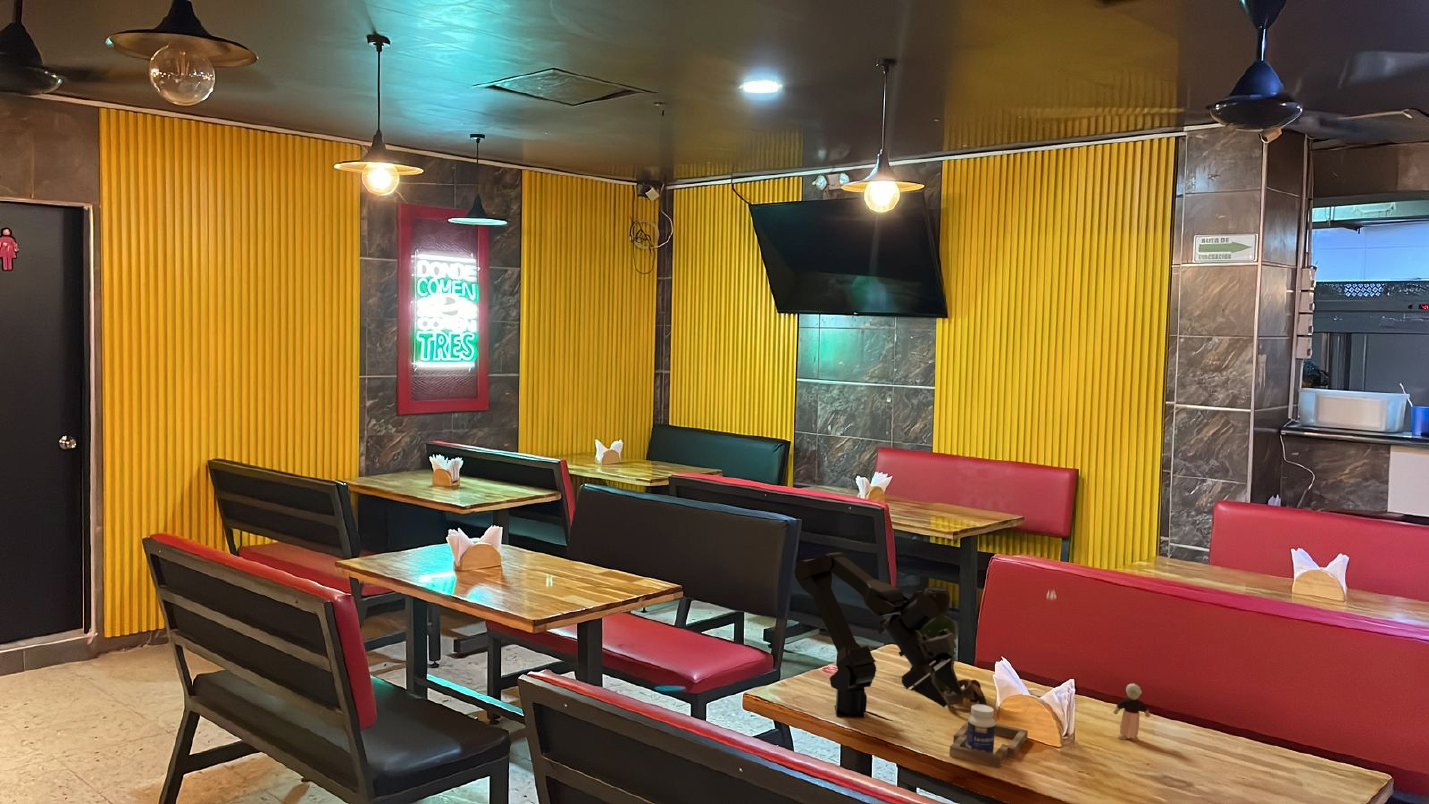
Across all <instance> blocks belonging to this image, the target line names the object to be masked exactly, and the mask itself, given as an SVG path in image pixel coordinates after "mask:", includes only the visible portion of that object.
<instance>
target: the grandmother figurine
mask: <svg viewBox="0 0 1429 804" xmlns="http://www.w3.org/2000/svg"><path fill="white" fill-rule="evenodd" d="M1125 690H1126V694H1127V697H1124V698H1123V699H1121V700H1120V701H1119V702H1118V703H1117V704H1116V707H1115V708H1114V710H1113V712H1112V713H1113V714H1114V715H1118V714H1119V712H1120V711H1121V710H1122V709H1123V712H1122V716H1121V720H1120V721H1121V722H1120V727H1119V734H1118V735H1117V739H1120V740H1127V739H1129V740H1130V741H1133V742H1139V741H1138V740H1139V737H1138V735H1139V729H1140V728H1139V727H1140V711H1141V712H1143V714H1144V716H1145V718H1150V717H1151V714H1150V711H1149V707H1148V705H1147V704H1146V703H1144V702H1143V701H1142V700H1140V699H1138V698H1139V697H1140V696H1141V695H1142V693H1143V692H1142V691H1143V690H1142V689H1141V687H1140V686H1139V685H1138V684H1136V683H1129V684H1127V686H1126V688H1125Z"/></svg>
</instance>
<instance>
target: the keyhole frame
mask: <svg viewBox="0 0 1429 804" xmlns="http://www.w3.org/2000/svg"><path fill="white" fill-rule="evenodd" d="M967 728H968V720H966V721H965V723H964V724H963V725H962V726H961V727H960V728H959V729H958V730H957V731H956V732H955V733H954V734H953V741H952V744H951V745H950V747H949V757H951V756H952V757H953V758H956V759H961V760H963V761H967V762H968V761H969V762H972V763H975V764H976V763H977V764H981V765H985V766H989V767H994V768H998V769H999V768H1000V767H1001V766H1002V765H1003V763H1004V762H1005V761H1006V759H1007V758H1009V759H1010V758H1011V759H1014V758H1015V756H1016V755H1017V754H1018V752H1019V751H1020V750H1021V748H1022V747H1023V746H1024V744H1025V743H1026V742H1027V740H1028V730H1027V729H1023V728H1018V727H1015V726H1014V727H1013V726H1008V725H1006V724H1005V725H1003V724H1000V723H996V722H995V736H1001V737H1006V738H1009V739H1012V740H1011V741H1010V742H1009V744H1004V743H1002V744H1001V745H1000V746H999V748H998V749H997V750H996V751H994V750H993V754H990V753H986V752H981V751H977V750H973V749H969V748H966V740H967ZM1003 761H1004V762H1003ZM1001 764H1002V765H1001Z"/></svg>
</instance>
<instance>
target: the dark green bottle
mask: <svg viewBox="0 0 1429 804" xmlns="http://www.w3.org/2000/svg"><path fill="white" fill-rule="evenodd" d="M949 592H950V591H949V590H948V589H947V588H945V587H942V586H938V585H937V586H934V585H933V586H932V585H930V586H927V587H926V588H925V589H924V591H923V593H924V595H925V596H928V597H929V598H931V599H932V600H933V601H934V602H936V604H937V606H938V609H939V614H938V616H937V617H936V618H935V619H934V620H932V621H931V622H930V623H929V624H927V625H926V626H925V627H924V628H922V629H921V630H918V631H919V633H920V634H921V635H924V634H925V635H927V636H928V637H929V638H930V639H931V638H935V637H937V636H939V632H940V631H941V630H943V629H947V628H948V629H949V631H950V632H951V633H952V632H953V635H955V636H956V624H955V622H954V621H953V619H952V618H951V617H949V616H947V615H946V614H948V613H949V608H950V603H951V602H950V601H951V596H950V593H949ZM955 640H956V639H955ZM955 640H954V641H955ZM955 642H956V641H955ZM953 650H954V651H955V648H953ZM954 657H955V655H954V656H953V657H951V658H950V660H951V659H953V658H954ZM911 667H913V666H912V665H911V664H910V668H911ZM933 672H935V670H933V671H931V672H930V674H932V673H933ZM935 683H936V685H937V686H938V688H939V690H940V691H946V690H948V689H947V688H948V687H947V686H946V685H945V684H944V683H942V682H941V681H940V680H939V679H938V678H936V677H935ZM912 686H915V685H914V684H913V685H912Z"/></svg>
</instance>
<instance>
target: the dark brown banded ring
mask: <svg viewBox="0 0 1429 804" xmlns="http://www.w3.org/2000/svg"><path fill="white" fill-rule="evenodd" d="M958 682H959V684H960V687H961V688H962V687H964V688H963V689H961V690H962V693H961V694H960V695H958V694H956V693H955V692H954V691H952V690H951V689H950V688H949V687H948V688H947V689H946V690H944V692H943V694H944V695H943V696H944V698H945V700H946V702H947V707H950V706H955V705H960V706H961V707H964V704H963V703H964V702H963V701H964V698H965V699H966V700H969V702H971V703H974V704H977V703H978V704H981V705H986V706H988V703H987V701H986V700H987V699H986V696H985V695H984V692H983V690H982V686H981V683H980V682H979V681H978V680H977V679H969V678H966V679H965V678H962V679H960V680H959V679H958Z"/></svg>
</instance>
